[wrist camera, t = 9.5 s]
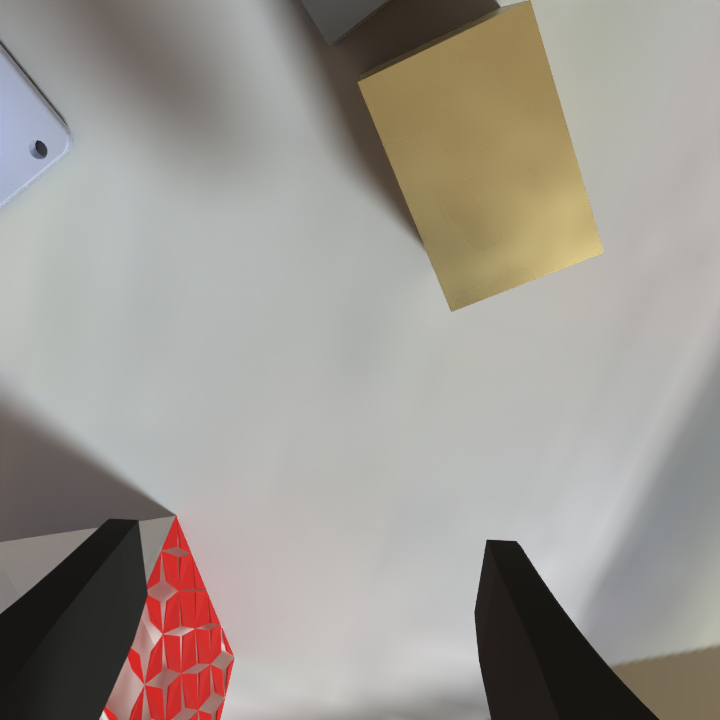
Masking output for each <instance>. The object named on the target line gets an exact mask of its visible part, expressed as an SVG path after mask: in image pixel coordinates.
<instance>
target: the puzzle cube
mask: <svg viewBox="0 0 720 720" xmlns="http://www.w3.org/2000/svg"><path fill="white" fill-rule="evenodd" d="M98 528H99V527H97V528H90V529H84V530H77V531H70V532H64V533H57V534H50V535H44V536H37V537H30V538H23V539H17V540H10V541H3V542H0V614H1V613H2V612H3V611H4V610H6V609H7V608H8V607H9V606H11V605H12V604H13V603H14V602H16V601H17V600H18V599H19V598H21V597H22V596H23V595H24V594H25V593H27V592H28V591H29V590H30V589H31V588H32V587H33V586H35V585H36V584H37V583H38V582H39V581H40V580H42V579H43V578H44V577H45V576H46V575H47V574H48V573H50V572H51V571H52V570H53V569H54V568H55V567H56V566H58V565H59V564H60V563H61V562H62V561H63V560H64V559H65V558H66V557H67V556H69V555H70V554H71V553H72V552H73V551H74V550H75V549H76V548H77V547H78V546H80V545H81V544H82V543H83V542H84V541H85V540H86V539H87V538H88V537H89V536H90V535H91V534H93V533H94V532H95V531H96V530H97V529H98ZM139 528H140V535H141V543H142V551H143V559H144V567H145V575H146V583H147V591H148V596H147V599H146V602H145V606H144V609H143V613H142V616H141V620H140V623H139V626H138V629H137V632H136V635H135V639H134V642H133V644H132V646H131V649H130V651H129V654H128V656H127V658H126V660H125V663H124V665H123V667H122V670H121V672H120V674H119V676H118V679H117V681H116V683H115V685H114V688H113V690H112V692H111V694H110V697H109V699H108V701H107V703H106V706H105V708H104V710H103V712H102V715H101V717H100V719H99V720H220V718H221V714H222V709H223V705H224V701H225V696H226V692H227V688H228V684H229V679H230V675H231V671H232V666H233V662H234V657H233V653H232V651H231V648H230V646H229V643H228V641H227V638H226V636H225V634H224V631H223V629H221V625H220V622H219V620H218V618H217V615H216V613H215V610H214V608H213V605H212V603H211V600H210V598H209V595H208V593H207V591H206V588H205V586H204V583H203V581H202V578H201V576H200V573H199V571H198V569H197V566H196V564H195V561H194V559H193V556H192V554H191V551H190V549H189V546H188V544H187V542H186V539H185V537H184V534H183V532H182V529H181V527H180V524H179V522H178V519H177V516H176V515H175V516H170V517H164V518H157V519H150V520H144V521H139Z"/></svg>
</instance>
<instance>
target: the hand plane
mask: <svg viewBox="0 0 720 720" xmlns="http://www.w3.org/2000/svg"><path fill="white" fill-rule="evenodd" d="M300 1H301V2H302V4H303V5H304V7H305V9H306V10H307V12H308V13H309V15H310V17H311V18H312V20H313V21H314V23H315V25H316V26H317V28H318V29H319V31H320V33H321V34H322V36H323V37H324V39H325V40H326V42H327V44H328V45H334V44H336V43H337V42H339V41H340V40H341V39H343V38H344V37H345V36H347V35H348V34H349V33H351V32H352V31H353V30H355V29H356V28H357V27H359V26H360V25H361V24H362V23H364V22H365V21H366V20H368V19H369V18H370V17H372V16H373V15H374V14H376V13H377V12H378V11H380V10H381V9H382V8H384V7H385V6H386V5H387V4H389V3H390V2H391V1H393V0H300Z"/></svg>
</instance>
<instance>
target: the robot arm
mask: <svg viewBox="0 0 720 720" xmlns="http://www.w3.org/2000/svg"><path fill="white" fill-rule="evenodd" d="M37 140H39V141H41V142H43V143H44V144H45V146H46V147H47V156H46V157H43V156H41V155H40V154H39V153H38V152H37V150H36V148H35V143H36V142H37ZM73 142H74V141H73V135H72V133H71V131H70V129H69V128H68V126H67V125H66V124H65V123H64V122H63V120H62V119H61V118H60V117H59V115H58V114H57V113H56V112H55V111H54V109H53V108H52V107H51V106H50V104H49V103H48V102H47V101H46V99H45V98H44V97H43V96H42V95H41V93H40V92H39V91H38V90H37V88H36V87H35V86H34V85H33V84H32V82H31V81H30V80H29V79H28V77H27V76H26V75H25V74H24V73H23V71H22V70H21V69H20V68H19V66H18V65H17V64H16V63H15V62H14V60H13V59H12V58H11V57H10V55H9V54H8V53H7V52H6V51H5V49H4V48H3V47H2V46H1V44H0V208H1V207H2V206H4V205H5V204H6V203H7V202H9V201H10V200H11V199H12V198H13V197H15V196H16V195H17V194H18V193H20V192H21V191H22V190H23V189H25V188H26V187H27V186H28V185H29V184H31V183H32V182H33V181H34V180H36V179H37V178H38V177H39V176H41V175H42V174H43V173H44V172H45V171H47V170H48V169H49V168H50V167H52V166H53V165H54V164H55V163H57V162H58V161H59V160H60V159H61V158H63V157H64V156H65V155H66V154H68V153H69V151H70V150H71V149H72V147H73ZM147 596H148V591H147V583H146V575H145V567H144V559H143V551H142V543H141V535H140V528H139V520H123V519H108V520H107V521H106V522H105V523H104V524H103V525H102V526H100V527H99V528H98V529H97V530H96V531H95V532H94V533H93V534H91V535H90V536H89V537H88V538H87V539H86V540H85V541H84V542H83V543H82V544H81V545H80V546H78V547H77V548H76V549H75V550H74V551H73V552H72V553H71V554H70V555H69V556H67V557H66V558H65V559H64V560H63V561H62V562H61V563H60V564H59V565H58V566H56V567H55V568H54V569H53V570H52V571H51V572H50V573H48V574H47V575H46V576H45V577H44V578H43V579H42V580H40V581H39V582H38V583H37V584H36V585H35V586H33V587H32V588H31V589H30V590H29V591H28V592H27V593H25V594H24V595H23V596H22V597H21V598H19V599H18V600H17V601H16V602H14V603H13V604H12V605H11V606H9V607H8V608H7V609H6V610H4V611H3V612H2V613H1V614H0V720H99V719H100V717H101V715H102V712H103V710H104V708H105V706H106V703H107V701H108V699H109V697H110V694H111V692H112V690H113V688H114V685H115V683H116V681H117V679H118V676H119V674H120V672H121V670H122V667H123V665H124V663H125V660H126V658H127V656H128V654H129V651H130V649H131V646H132V644H133V642H134V639H135V635H136V632H137V629H138V626H139V623H140V620H141V616H142V613H143V609H144V606H145V602H146V599H147ZM474 613H475V624H476V635H477V645H478V655H479V663H480V668H481V673H482V677H483V682H484V687H485V692H486V696H487V701H488V706H489V710H490V715H491V720H659V719H658V718H657V717H656V716H655V715H654V714H653V713H652V712H651V711H650V710H649V709H648V708H647V707H646V706H645V705H644V704H643V703H642V702H641V701H640V700H639V699H638V698H637V697H636V696H635V695H634V693H633V692H632V691H631V690H630V689H629V688H628V687H627V686H626V685H625V684H624V683H623V682H622V681H621V680H620V679H619V677H618V676H617V675H616V674H615V673H614V672H613V671H612V670H611V668H610V667H609V666H608V665H607V664H606V663H605V662H604V660H603V659H602V658H601V657H600V656H599V654H598V653H597V652H596V651H595V650H594V648H593V647H592V646H591V645H590V643H589V642H588V641H587V640H586V638H585V637H584V636H583V635H582V633H581V632H580V631H579V630H578V628H577V627H576V626H575V624H574V623H573V622H572V620H571V619H570V618H569V616H568V615H567V614H566V612H565V611H564V610H563V608H562V607H561V606H560V604H559V603H558V601H557V600H556V599H555V597H554V596H553V594H552V593H551V592H550V590H549V589H548V587H547V586H546V584H545V583H544V581H543V580H542V578H541V577H540V575H539V574H538V572H537V571H536V569H535V568H534V566H533V565H532V563H531V562H530V560H529V558H528V557H527V555H526V554H525V552H524V551H523V549H522V547H521V546H520V545H519V544H518V543H517V541H503V540H487V541H486V547H485V553H484V559H483V565H482V571H481V577H480V583H479V588H478V594H477V600H476V606H475V612H474Z"/></svg>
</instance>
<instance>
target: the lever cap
mask: <svg viewBox="0 0 720 720" xmlns="http://www.w3.org/2000/svg"><path fill="white" fill-rule="evenodd" d="M357 83H358V85H359V88H360V90H361V92H362V95H363V97H364V100H365V102H366V105H367V107H368V110H369V112H370V114H371V117H372V119H373V122H374V124H375V127H376V129H377V132H378V134H379V136H380V139H381V141H382V144H383V146H384V149H385V151H386V154H387V156H388V158H389V161H390V163H391V166H392V168H393V171H394V173H395V176H396V178H397V180H398V183H399V185H400V188H401V190H402V193H403V195H404V198H405V200H406V202H407V205H408V207H409V210H410V212H411V215H412V217H413V220H414V222H415V224H416V227H417V229H418V232H419V234H420V237H421V239H422V242H423V244H424V246H425V249H426V251H427V254H428V256H429V259H430V261H431V264H432V266H433V268H434V271H435V273H436V276H437V278H438V281H439V283H440V286H441V288H442V290H443V293H444V295H445V298H446V300H447V303H448V305H449V308H450V310H451V312H452V311H455V310H457V309H460V308H463V307H465V306H468V305H470V304H473V303H475V302H478V301H481V300H483V299H486V298H488V297H491V296H493V295H496V294H499V293H501V292H504V291H506V290H509V289H511V288H514V287H517V286H519V285H522V284H524V283H527V282H529V281H532V280H535V279H537V278H540V277H542V276H545V275H547V274H550V273H553V272H555V271H558V270H560V269H563V268H565V267H568V266H571V265H573V264H576V263H578V262H581V261H583V260H586V259H589V258H591V257H594V256H596V255H599V254H602V253H604V251H603V248H602V244H601V241H600V237H599V234H598V231H597V227H596V224H595V220H594V217H593V213H592V210H591V207H590V203H589V200H588V196H587V193H586V190H585V186H584V183H583V179H582V176H581V172H580V169H579V166H578V162H577V159H576V155H575V152H574V148H573V145H572V142H571V138H570V135H569V131H568V128H567V124H566V121H565V118H564V114H563V111H562V107H561V104H560V100H559V97H558V94H557V90H556V87H555V83H554V80H553V76H552V73H551V70H550V66H549V63H548V59H547V56H546V52H545V49H544V46H543V42H542V39H541V35H540V32H539V28H538V25H537V22H536V18H535V15H534V11H533V8H532V4H531V1H530V0H528V1H524V2H520V3H515V4H511V5H507V6H503V7H500V8H498V9H496V10H493V11H491V12H489V13H487V14H485V15H483V16H481V17H479V18H477V19H475V20H473V21H470V22H468V23H466V24H464V25H462V26H460V27H458V28H456V29H454V30H452V31H450V32H448V33H445V34H443V35H441V36H439V37H437V38H435V39H433V40H431V41H429V42H427V43H425V44H423V45H420V46H418V47H416V48H414V49H412V50H410V51H408V52H406V53H404V54H402V55H400V56H397V57H395V58H393V59H391V60H389V61H387V62H385V63H383V64H381V65H379V66H377V67H375V68H372V69H370V70H368V71H366V72H364V73H362V74H361V76H360V78H359V80H358V82H357Z"/></svg>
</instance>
